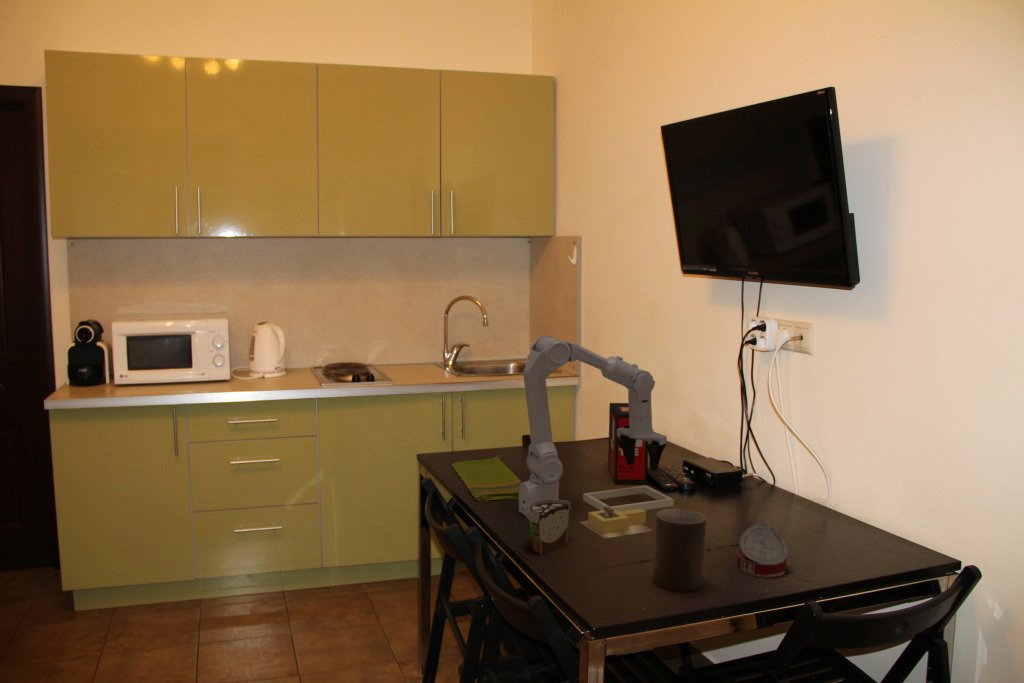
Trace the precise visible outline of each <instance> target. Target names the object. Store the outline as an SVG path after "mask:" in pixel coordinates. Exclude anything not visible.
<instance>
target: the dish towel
mask: <svg viewBox="0 0 1024 683" xmlns="http://www.w3.org/2000/svg"><path fill="white" fill-rule="evenodd" d="M451 467H452V469H453V468H454V469H453V470H454V472H455V473H456V472H457V473H456V474H457V475H458V477H459V476H460V477H461V478H460V477H459V478H460V480H461V481H462V480H463V481H462V482H464V483H465V484H466V486H467V487H466V486H465V487H466V489H469V490H468V491H469V493H470V492H471V493H470V494H471V495H472V497H473V498H474V499H475V501H476V500H502V499H517V500H519V487H520V484H521V483H523V482H522V481H521V479H520V478H519V477H518V476H517V475H515V473H514V472H512V470H510V468H508V466H507V465H506V464H505V463H504V462H503V461H502V460H501V459H500V457H499V455H496V456H494V457H493V458H486V459H477V460H476V459H475V460H474V459H473V460H464V461H462V460H461V461H458V462H453V463H451ZM464 483H463V484H464ZM465 484H464V485H465ZM502 501H503V500H502Z"/></svg>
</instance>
